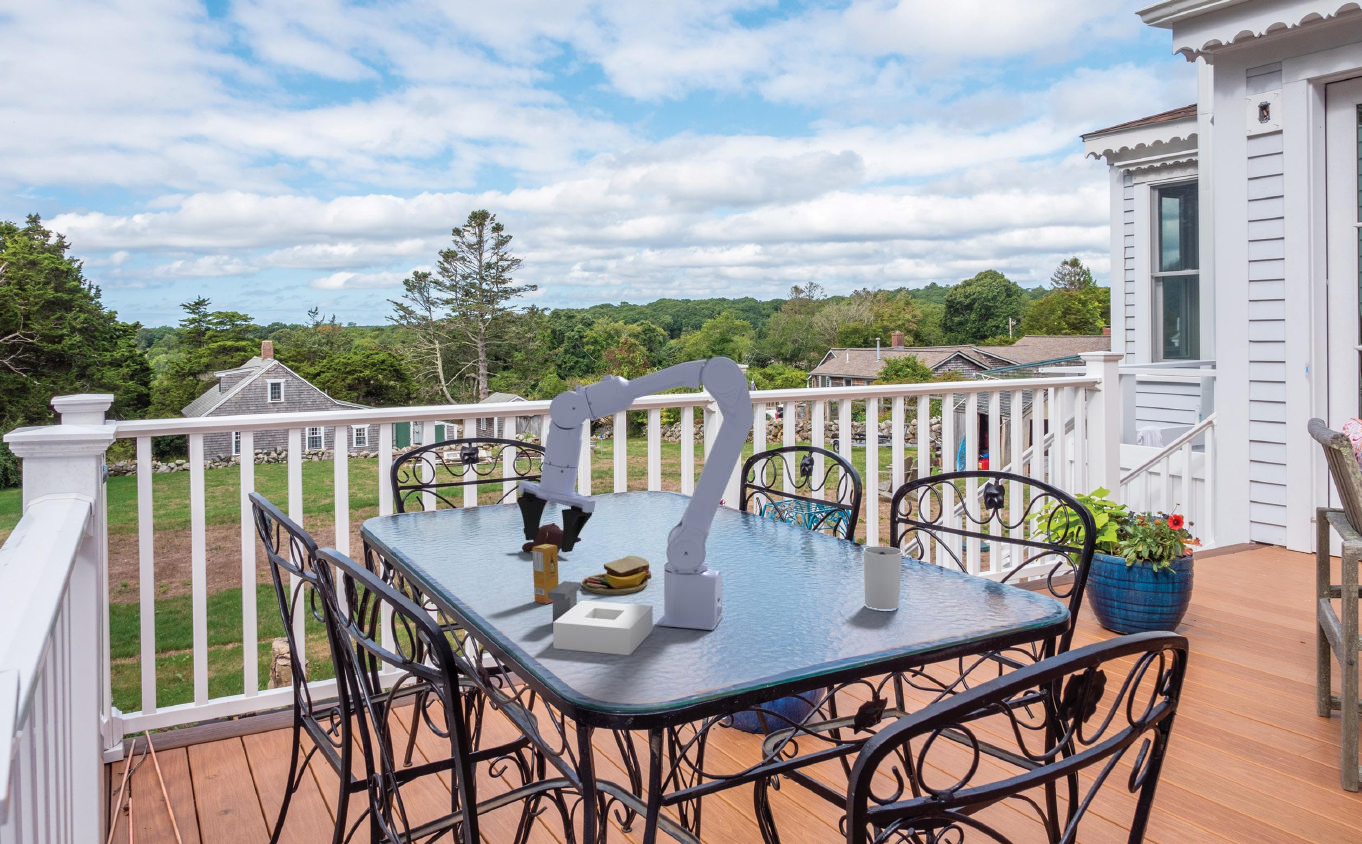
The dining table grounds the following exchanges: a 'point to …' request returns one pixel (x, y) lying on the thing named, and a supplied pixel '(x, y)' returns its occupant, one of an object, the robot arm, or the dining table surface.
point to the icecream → (547, 537)
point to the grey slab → (564, 597)
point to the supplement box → (545, 571)
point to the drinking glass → (882, 576)
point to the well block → (603, 627)
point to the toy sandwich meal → (620, 577)
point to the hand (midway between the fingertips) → (548, 545)
